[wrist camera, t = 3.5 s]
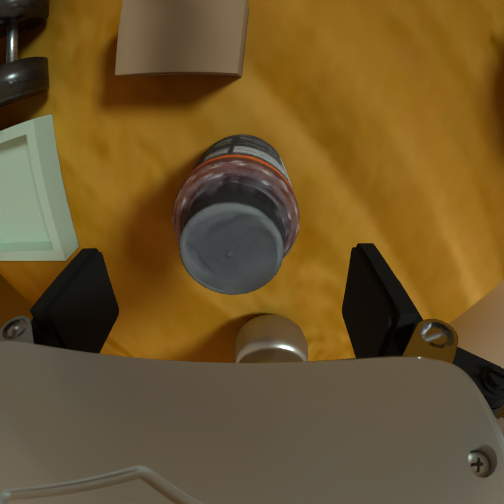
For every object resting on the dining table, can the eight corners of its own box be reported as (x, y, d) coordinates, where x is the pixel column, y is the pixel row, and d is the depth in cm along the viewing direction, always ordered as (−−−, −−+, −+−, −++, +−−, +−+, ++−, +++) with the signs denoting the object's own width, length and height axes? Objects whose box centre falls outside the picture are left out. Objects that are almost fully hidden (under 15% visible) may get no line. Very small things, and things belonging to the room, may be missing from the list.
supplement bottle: (247, 227, 23) (239, 336, 14) (184, 179, 21) (125, 261, 12) (302, 170, 21) (341, 248, 11) (237, 115, 19) (214, 141, 9)
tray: (51, 113, 18) (33, 118, 16) (78, 246, 24) (65, 260, 22) (-28, 144, 19) (-44, 151, 17) (0, 248, 25) (-13, 260, 23)
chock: (249, 11, 15) (246, -9, 12) (241, 77, 18) (237, 73, 14) (148, 12, 15) (123, -2, 11) (142, 76, 18) (115, 75, 14)
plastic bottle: (251, 295, 26) (243, 543, 9) (318, 318, 28) (354, 537, 10) (225, 341, 29) (204, 545, 12) (285, 359, 31) (296, 548, 13)
